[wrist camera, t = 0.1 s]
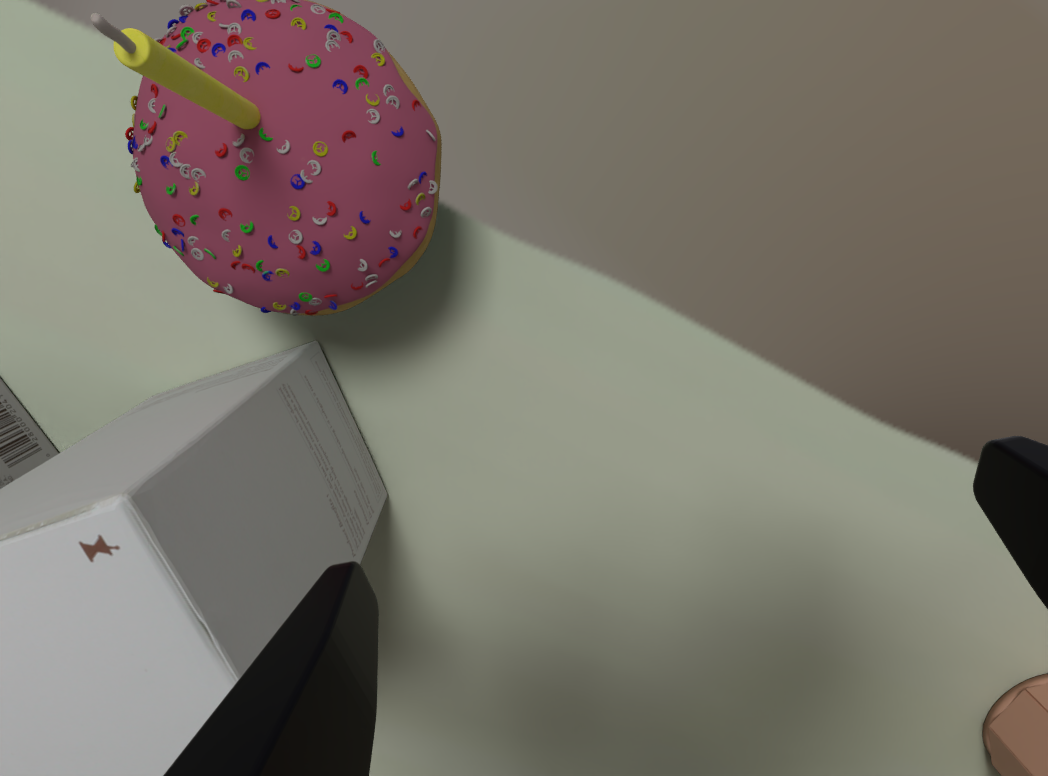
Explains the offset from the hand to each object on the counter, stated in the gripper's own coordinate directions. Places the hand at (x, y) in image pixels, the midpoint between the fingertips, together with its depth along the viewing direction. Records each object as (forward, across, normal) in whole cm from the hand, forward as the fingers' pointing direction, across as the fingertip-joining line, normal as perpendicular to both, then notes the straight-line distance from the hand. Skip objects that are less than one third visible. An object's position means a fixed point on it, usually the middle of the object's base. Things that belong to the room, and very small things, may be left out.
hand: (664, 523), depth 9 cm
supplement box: (+14, +13, +7) cm, 21 cm away
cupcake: (+17, +7, -3) cm, 18 cm away
